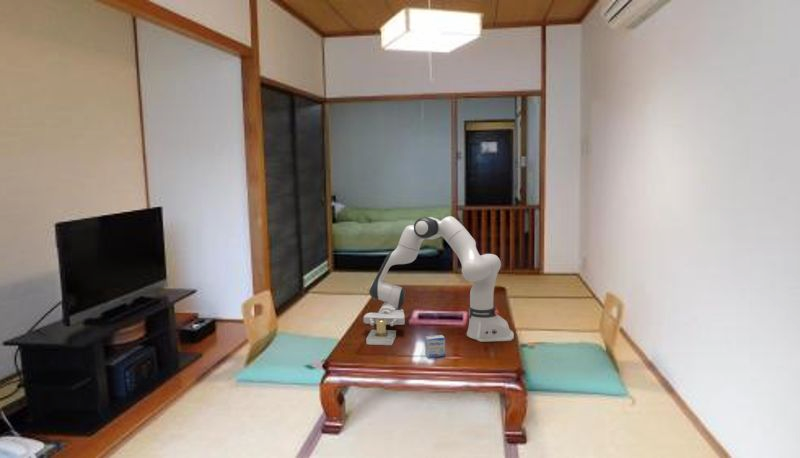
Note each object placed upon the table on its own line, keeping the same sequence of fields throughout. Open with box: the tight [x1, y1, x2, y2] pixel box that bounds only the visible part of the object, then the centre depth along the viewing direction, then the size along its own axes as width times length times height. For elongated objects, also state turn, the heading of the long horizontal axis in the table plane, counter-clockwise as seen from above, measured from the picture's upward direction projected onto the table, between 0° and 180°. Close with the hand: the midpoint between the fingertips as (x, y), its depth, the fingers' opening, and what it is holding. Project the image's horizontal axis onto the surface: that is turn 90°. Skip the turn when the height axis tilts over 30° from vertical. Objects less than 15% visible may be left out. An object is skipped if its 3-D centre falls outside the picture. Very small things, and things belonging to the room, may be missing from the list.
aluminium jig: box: [365, 329, 397, 346], centre depth 261 cm, size 12×12×3 cm
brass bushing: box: [375, 319, 387, 337], centre depth 261 cm, size 4×4×10 cm
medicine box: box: [424, 334, 446, 359], centre depth 241 cm, size 8×4×9 cm, turn 105°
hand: (381, 324), depth 262 cm, fingers open, 8 cm apart
